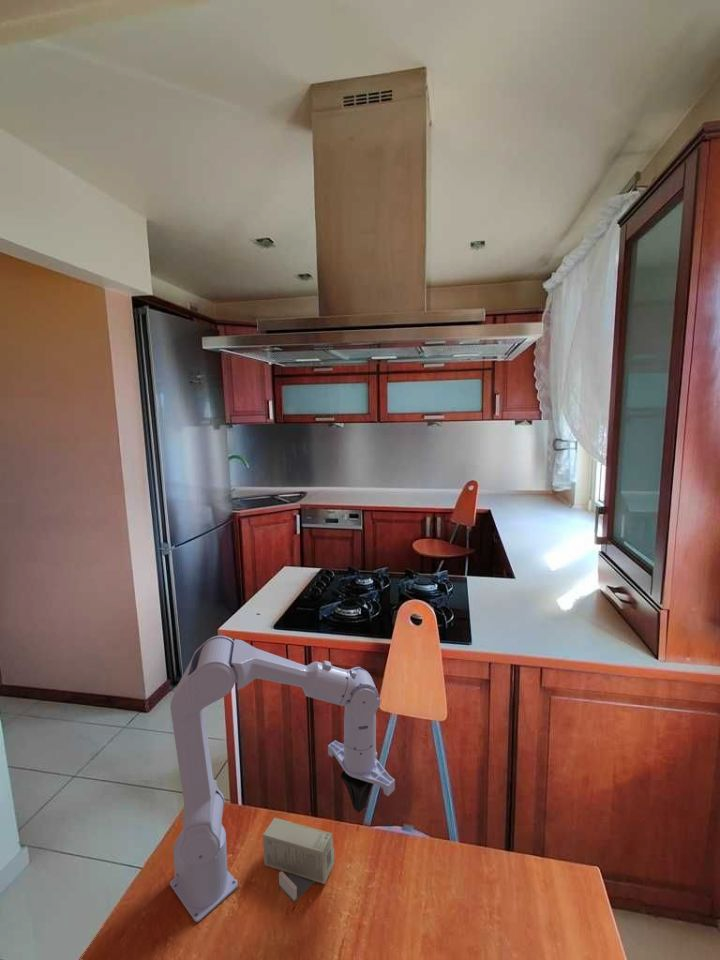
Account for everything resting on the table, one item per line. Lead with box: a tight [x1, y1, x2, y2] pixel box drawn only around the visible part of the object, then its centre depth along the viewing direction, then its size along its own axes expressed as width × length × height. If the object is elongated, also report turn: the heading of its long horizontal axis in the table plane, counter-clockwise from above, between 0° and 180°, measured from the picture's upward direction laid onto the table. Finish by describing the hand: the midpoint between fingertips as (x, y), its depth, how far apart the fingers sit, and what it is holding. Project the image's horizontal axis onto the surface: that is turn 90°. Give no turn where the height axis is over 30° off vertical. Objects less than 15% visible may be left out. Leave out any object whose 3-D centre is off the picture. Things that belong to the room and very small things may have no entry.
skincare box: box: [262, 817, 335, 885], centre depth 82 cm, size 6×4×12 cm
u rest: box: [278, 847, 336, 903], centre depth 81 cm, size 4×10×3 cm, turn 138°
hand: (359, 807), depth 83 cm, fingers closed
